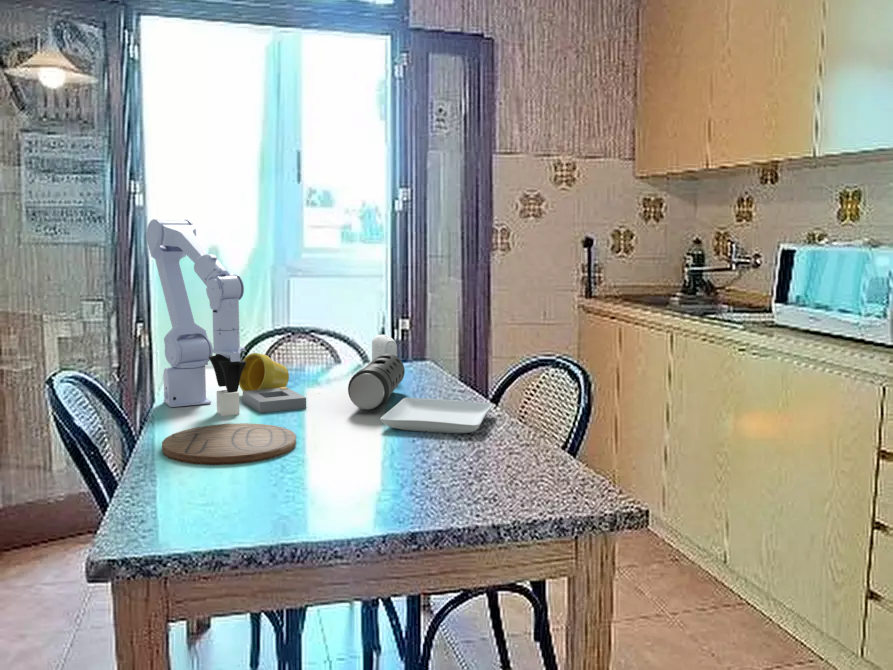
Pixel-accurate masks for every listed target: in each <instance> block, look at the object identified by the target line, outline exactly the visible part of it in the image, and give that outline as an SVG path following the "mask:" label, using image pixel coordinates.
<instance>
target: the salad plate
mask: <svg viewBox="0 0 893 670" xmlns="http://www.w3.org/2000/svg"><path fill="white" fill-rule="evenodd" d="M493 407H494V405H493V403H487V402H480V401H479V402H477V401H466V400H454V399H439V398H438V399H437V398H418V397H417V398H416V397H404V398H402V399H401V400H400V401H399V402H398V403H397V404H396V405H394V406H393V407H392V408H390V410H388V411H387V412H386V413H384V414H383V415H382V416H381V417H380V422H382V424H384V425H385V426H387V427H389V428H392V429H397V430H401V431H412V432H413V431H414V432H426V431H427V432H428V433H444V434H468V433H469V434H470V433H472V432H475V431H477V430H478V429H479V428H480V426H481V424H483V423H482V422H483V421H484V419H485V417H486V415H487V414H488V413H489V412H490V411H491V410H492V408H493ZM427 432H426V433H427Z"/></svg>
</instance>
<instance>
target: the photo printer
mask: <svg viewBox="0 0 893 670" xmlns="http://www.w3.org/2000/svg"><path fill="white" fill-rule="evenodd" d="M371 341H372V342H371V362H372V361H373V360H374V359H375V358H377V357H378V356H380V355H382V354H392V355H395V356H397V357H398V345H397V343H396V341H395V340H394V338H393V337H391V336H389V335H387V334H378V335H375V336H374V337H373V338H372V340H371ZM381 365H383V364H381Z"/></svg>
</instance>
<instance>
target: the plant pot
mask: <svg viewBox="0 0 893 670" xmlns="http://www.w3.org/2000/svg"><path fill="white" fill-rule="evenodd" d="M242 361H246V365H245V367H244V369H243V371H242V374H241V377H240V382H239V388H240V389H241V392H243V391H249V390H261V389H272V388H281V387H287V385H288V383H289V379H290V374H289V371H288V368H287V367H286V366H285V365H283V364H281V363H278V362H277V361H274V360H272V358H271V357H269V356H268V355H267V354H262V353H257V352H251V353H249V354H247V355H246V356H245V357H244V358H243V360H242Z"/></svg>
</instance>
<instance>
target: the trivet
mask: <svg viewBox="0 0 893 670" xmlns="http://www.w3.org/2000/svg"><path fill="white" fill-rule="evenodd" d="M296 445H297V434H296V433H295V432H294V431H293V430H291V429H288V428H286V427H284V426H283V427H282V426H278V425H272V424H265V423H248V422H247V423H246V422H245V423H221V424H211V425H204V426H197V427H192V428H188V429H184V430H181V431H177V432H174V433H172V434H171V435H169V436H167V437H165V438H164V440H162V442H161V449H162V450H161V451H162V455H163V456H165V457H166V458H168V459H169V460H172V461H175V462H179V463H184V464H185V463H186V464H190V465H201V466H202V465H203V466H204V465H205V466H230V465H232V466H233V465H241V464H242V465H243V464H251V463H257V462H263V461H269V460H271V459H275V458H278V457H280V456H281V457H282V456H284V455H287V454H289V453H290V452H292V451H293V450H294V449H295V448H296Z"/></svg>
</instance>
